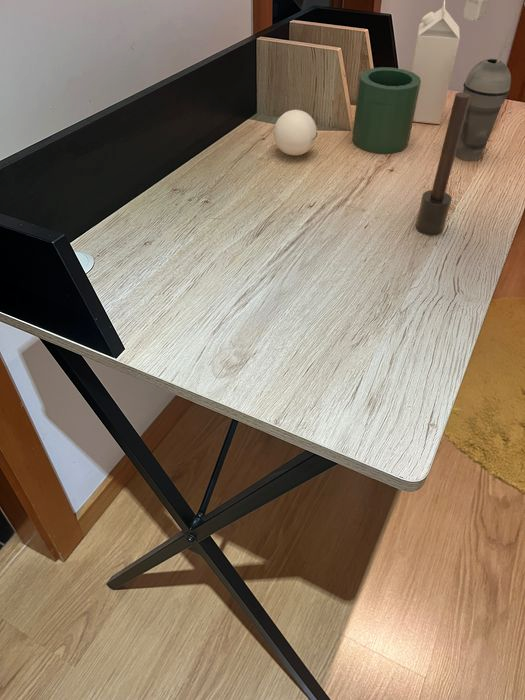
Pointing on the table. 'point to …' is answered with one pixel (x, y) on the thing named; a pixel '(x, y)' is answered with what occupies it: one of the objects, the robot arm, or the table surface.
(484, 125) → the beverage cup
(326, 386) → the table surface
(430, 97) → the milk carton
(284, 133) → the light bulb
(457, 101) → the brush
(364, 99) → the jar
